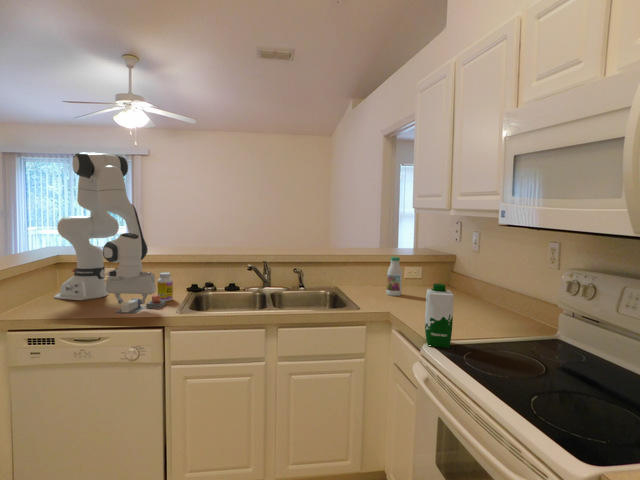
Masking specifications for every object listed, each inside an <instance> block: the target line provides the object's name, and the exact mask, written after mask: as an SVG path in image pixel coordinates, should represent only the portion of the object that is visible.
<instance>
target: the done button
mask: <svg viewBox="0 0 640 480" xmlns="http://www.w3.org/2000/svg"><path fill="white" fill-rule="evenodd" d="M151 301H152V303H160V295H158V294H154V295H151Z"/></svg>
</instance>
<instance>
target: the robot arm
mask: <svg viewBox="0 0 640 480" xmlns="http://www.w3.org/2000/svg"><path fill="white" fill-rule="evenodd" d="M72 169H73V172H74V173H75V174H76V175H77V176H79V177H78V183H77V198H76V199H77V200H76V202H77V204H78V205H79V206H80V207H81V208H83V209H84V210H86V211H90V215H69V216H64V217H62V218H61V219H60V220H59V221H58V223H57V226H56V227H57V233H58V234H59V235H60V237H62V238H63V239H65V240H66V241H67V242H69V243H70V245H72V247H73V249H74V251H75V255H76V256H75V257H76V268H74V269H72V270H71V273H73V275H72V276H71V277H69V278H68V279H67V280H65V281H64V282H63V283H62V284H61V285H60V289H59V290H60V291H59V293H56V294H55V295H54V299H59V300H69V301H70V300H71V301H72V300H74V301H84V300H93V299H97V298H98V299H100V298H103V297H106V296H108V295H109V294H114V297H115V298H116V300H117V304H118V305H119V304H121V305H122V304H124V298H121V294H126V295H127V294H129V295H132V294H133V295H141V297H142V298H140V305H145V303H146V299H147V297H148V295H152V294H155V292H156V291H157V287H156V275H155V274H154V273H152V272H151V271H148V272H147V271H143V263H142V260H143V259H144V258H145V257H146V256H147V254H148V253H149V252H148V245H147V243H146V241H145V238H144V234H143V232H142V231H143V230H142V226H141V223H140V219H139V216H138V212H137V209H136V207H135V205H134V204H133V203H131V201H130V200H129V197H128V194H127V189H126V188H127V187H126V182H125V178H124V177H125V176H126V175H127V174H128V171H129V163H128V161H127V159H126V158H125V157H124V156H122V155H119V154H110V153H104V152H98V153H97V152H78V153H76V154H74V156H73V158H72ZM110 213H111V214H114V215H117V216H118V217H120V218H122V219H123V221H125V224H126V227H127V232H125V233H121V234H120V235H119V236H118V237H117V238H115V239H112V240H110V241H107V242H106V243H105V244H104V245H103V248H102V249H101V247H98V246H97V245H93V244H92V243H91V241H90V239H91V240H92V239H106V238H109V237H110V238H111V237H115V236H116V235H117V233H118V231H119V229H120V228H119V227H120V226H119V222H118V220H117V219H116V218H115V217H114V216H112V215H111V214H110ZM104 259H105V260H106V261H107V262H109V263H118V267H116V268H115V269H111V270H108V271H107V272H106V269H105V266H104ZM105 276H107V278H106V279H105Z"/></svg>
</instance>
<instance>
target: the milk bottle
mask: <svg viewBox="0 0 640 480" xmlns="http://www.w3.org/2000/svg"><path fill="white" fill-rule="evenodd" d="M402 272H403V271H402V268H401V265H400V257H399V256H391V257H390V265H389V267H388V269H387V273H386V274H387V276H386V295H388V296H391V297H399V296H400V297H401V295H402V290H403V289H402V287H403V285H402V282H403V273H402Z"/></svg>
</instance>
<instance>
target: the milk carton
mask: <svg viewBox="0 0 640 480" xmlns="http://www.w3.org/2000/svg"><path fill="white" fill-rule="evenodd" d="M424 315H425V317H424V331H425V332H424V333H425V340H426V344H427V346H428V345H431V346H430V347H432V346H434V347H433V348H445V349H446V348H447V349H448V348H451V342H452V335H453V334H452V333H453V320H454V319H453V318H454V293H453V292H452V291H451V290H450V289H446V284H445V283H433V284H432V288H427V289H426V298H425V314H424Z"/></svg>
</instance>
